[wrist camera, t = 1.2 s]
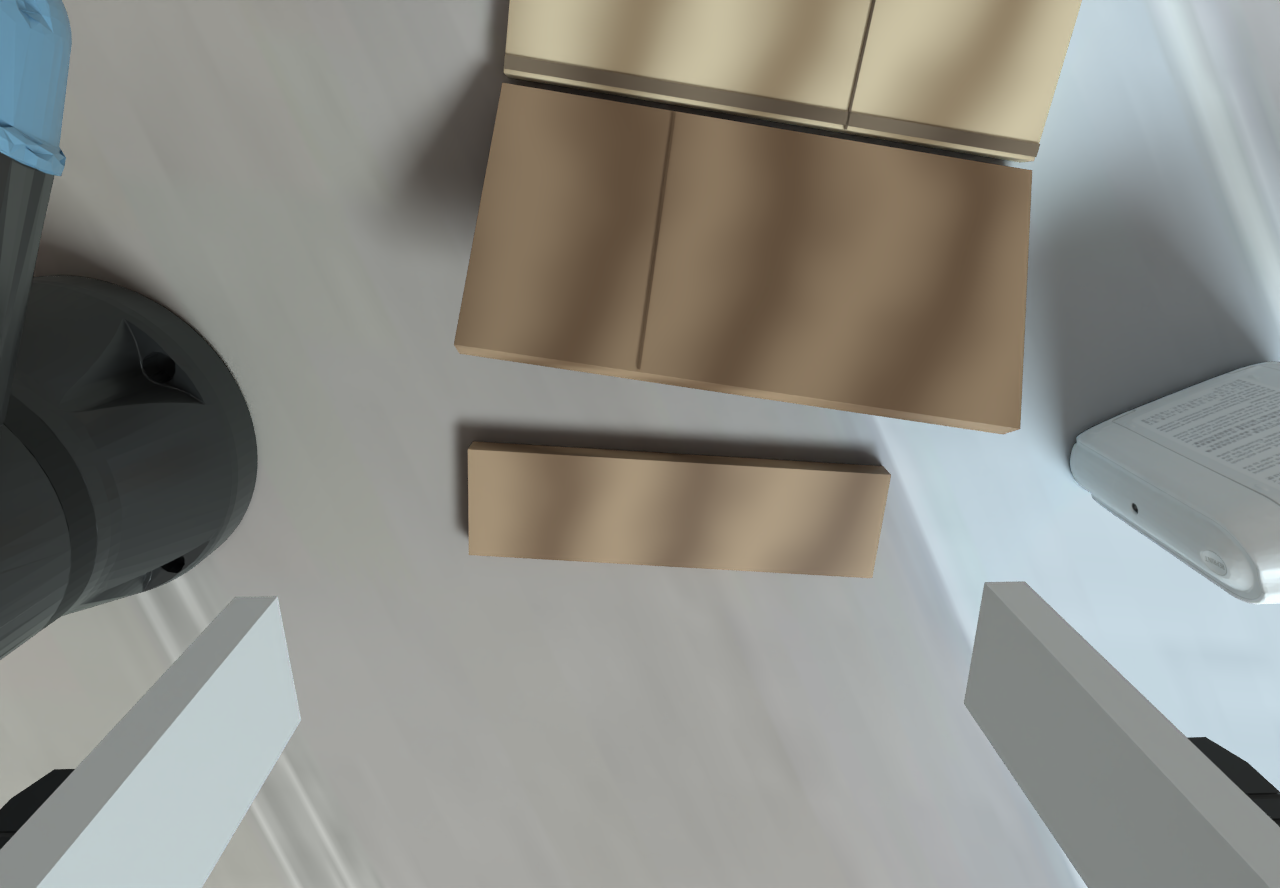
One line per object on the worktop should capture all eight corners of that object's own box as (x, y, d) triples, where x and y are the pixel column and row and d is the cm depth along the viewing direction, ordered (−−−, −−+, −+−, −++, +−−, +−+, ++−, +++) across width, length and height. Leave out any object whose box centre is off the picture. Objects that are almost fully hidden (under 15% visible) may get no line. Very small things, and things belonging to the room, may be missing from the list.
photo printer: (1077, 508, 37) (1282, 653, 25) (1055, 433, 35) (1260, 549, 24) (1288, 426, 35) (1612, 539, 24) (1273, 345, 34) (1607, 422, 22)
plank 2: (474, 543, 37) (468, 554, 36) (473, 441, 36) (467, 449, 34) (865, 566, 38) (872, 578, 36) (883, 466, 36) (891, 474, 35)
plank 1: (459, 353, 29) (453, 343, 27) (505, 101, 31) (502, 81, 29) (1002, 434, 30) (1021, 428, 28) (1015, 185, 32) (1033, 169, 30)
